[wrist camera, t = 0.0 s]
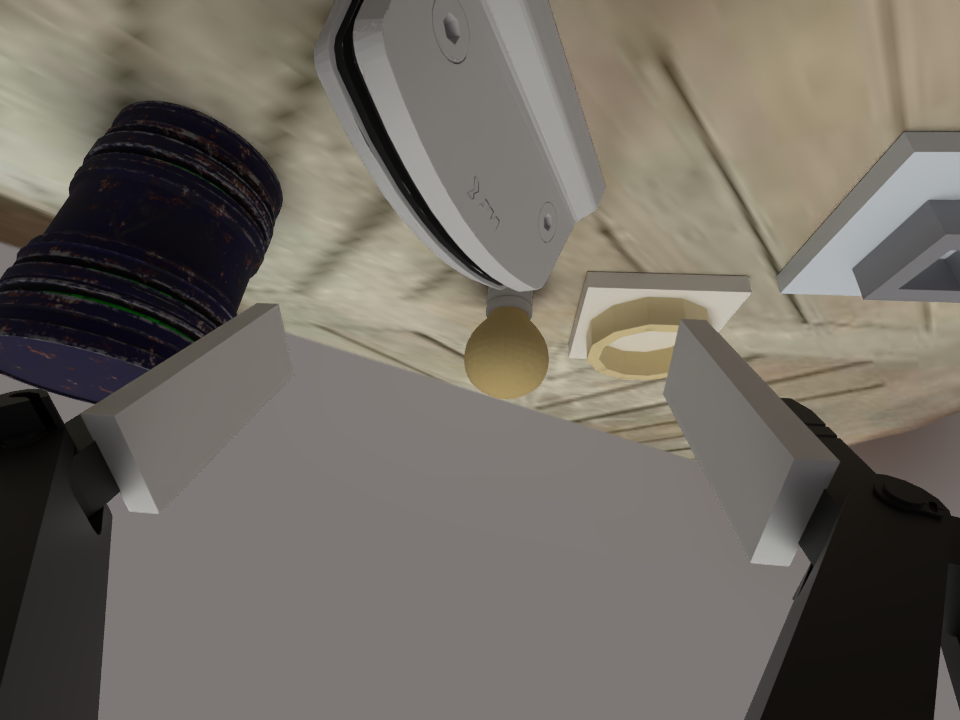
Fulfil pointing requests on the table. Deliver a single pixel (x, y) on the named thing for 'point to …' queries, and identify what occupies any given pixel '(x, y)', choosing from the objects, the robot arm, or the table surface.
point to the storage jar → (138, 253)
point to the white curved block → (466, 127)
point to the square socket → (891, 230)
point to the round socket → (647, 318)
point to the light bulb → (507, 347)
